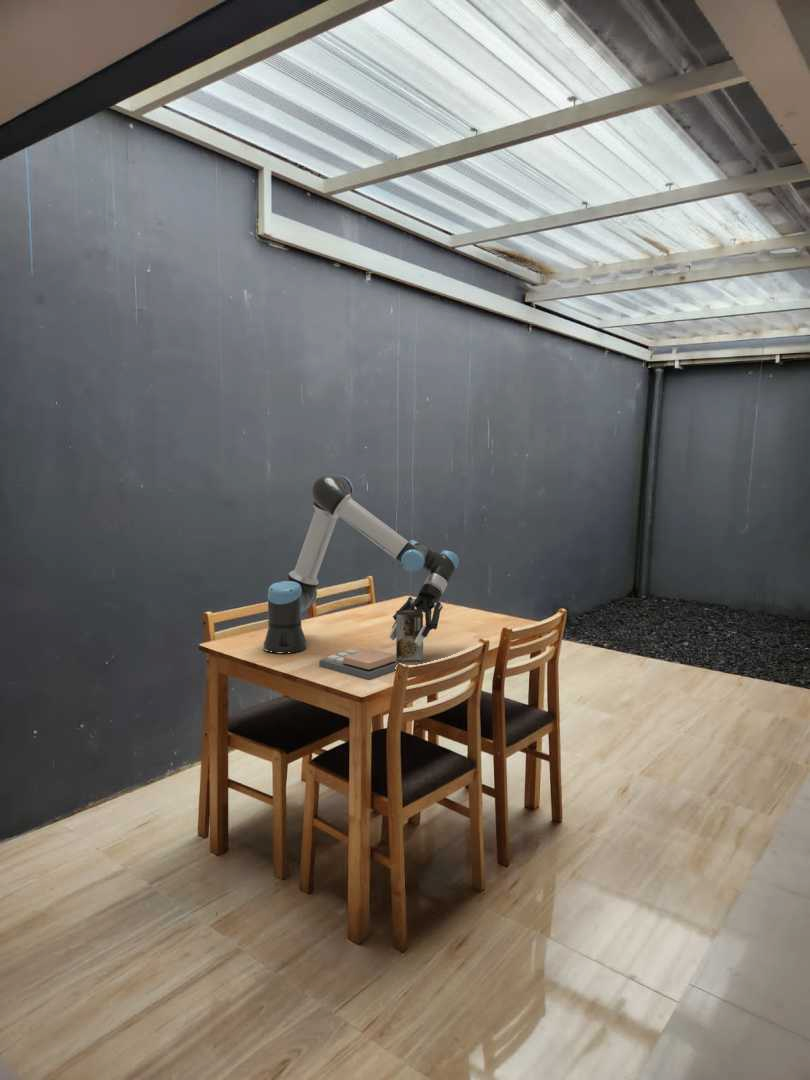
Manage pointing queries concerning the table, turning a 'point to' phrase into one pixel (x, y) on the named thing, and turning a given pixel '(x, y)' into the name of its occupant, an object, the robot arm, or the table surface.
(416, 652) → the coffee box
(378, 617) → the table surface
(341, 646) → the table surface
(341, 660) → the keypad
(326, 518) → the robot arm
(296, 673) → the table surface
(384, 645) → the table surface
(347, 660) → the reddish brown flat slab
